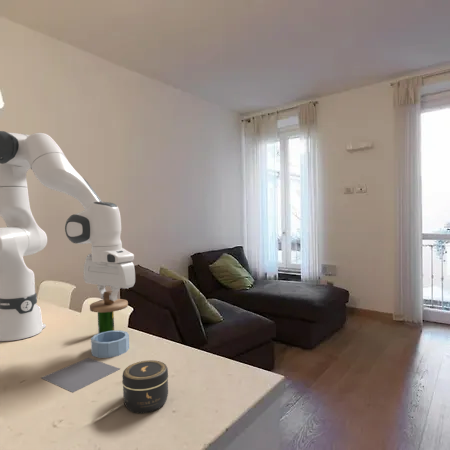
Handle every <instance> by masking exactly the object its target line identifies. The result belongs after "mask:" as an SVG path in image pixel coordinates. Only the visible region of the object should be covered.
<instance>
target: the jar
mask: <svg viewBox="0 0 450 450" xmlns="http://www.w3.org/2000/svg"><path fill="white" fill-rule="evenodd" d="M168 370H169V369H168V365H167V364H166V363H165V362H163V361H160V360H154V359H152V360H151V359H150V360H140V361H137V362H134V363H132V364H129V365H128V366H126V367H125V368H124V370H123V372H122V394H123V401H124V405H125V407H126V408H127V410H128V411H130V412H132V413H135V414H149V413H152V412H155V411H157V410H159V409H161V408H162V407H163V406H164V405H165V404H166V401H167V399H168V395H169V371H168Z"/></svg>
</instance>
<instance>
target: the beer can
mask: <svg viewBox="0 0 450 450" xmlns="http://www.w3.org/2000/svg"><path fill="white" fill-rule="evenodd" d="M101 300H104V299H100V300H98V301H101ZM114 313H115V311H113V312H103V313H100V312H97V332H98V333H97V334H99V333H102V332H107V331H115V316H114V315H115V314H114Z"/></svg>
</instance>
